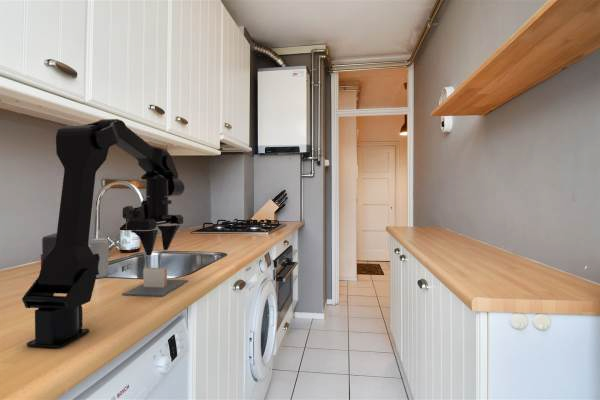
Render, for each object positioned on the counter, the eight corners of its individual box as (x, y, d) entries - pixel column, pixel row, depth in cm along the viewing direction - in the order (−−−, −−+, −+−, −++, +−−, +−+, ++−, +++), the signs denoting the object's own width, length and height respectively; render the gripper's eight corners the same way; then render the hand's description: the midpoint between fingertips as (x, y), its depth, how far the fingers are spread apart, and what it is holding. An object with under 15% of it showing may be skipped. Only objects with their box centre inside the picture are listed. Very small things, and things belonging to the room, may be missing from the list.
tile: (163, 287, 85) (163, 269, 85) (143, 286, 86) (143, 268, 86) (166, 285, 87) (166, 268, 86) (146, 285, 87) (146, 267, 87)
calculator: (55, 283, 91) (55, 232, 90) (73, 281, 92) (72, 231, 92) (39, 294, 80) (38, 237, 80) (59, 292, 82) (58, 236, 82)
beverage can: (92, 279, 94) (92, 240, 94) (88, 276, 98) (88, 239, 97) (110, 276, 98) (110, 239, 98) (105, 274, 101) (105, 237, 101)
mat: (162, 296, 79) (162, 295, 78) (122, 295, 80) (122, 293, 80) (188, 281, 92) (188, 280, 92) (153, 280, 94) (153, 279, 94)
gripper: (149, 196, 96) (150, 246, 96) (105, 196, 77) (106, 258, 78) (183, 196, 95) (184, 247, 95) (147, 196, 76) (147, 259, 76)
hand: (157, 252), depth 86 cm, fingers open, 8 cm apart
